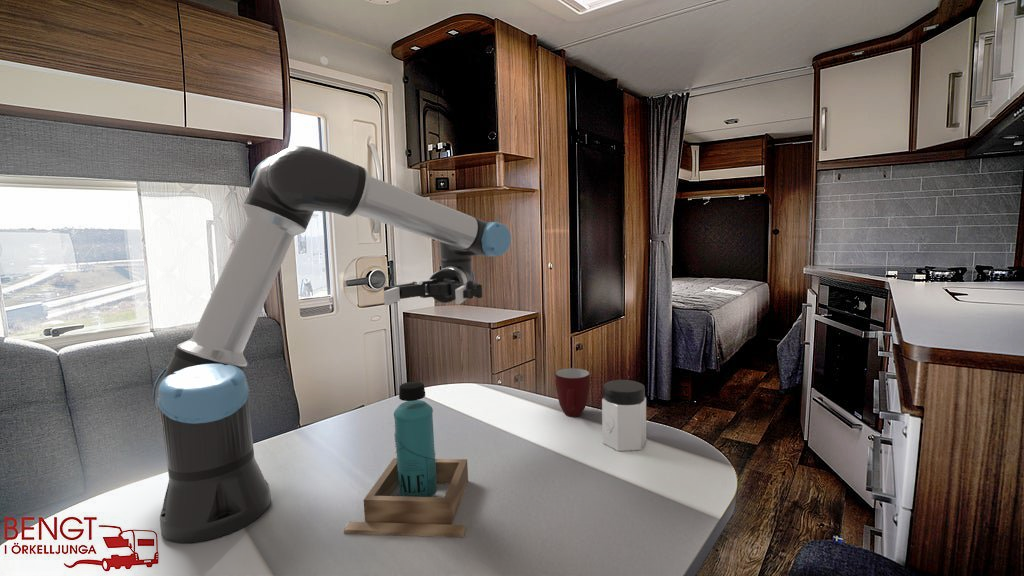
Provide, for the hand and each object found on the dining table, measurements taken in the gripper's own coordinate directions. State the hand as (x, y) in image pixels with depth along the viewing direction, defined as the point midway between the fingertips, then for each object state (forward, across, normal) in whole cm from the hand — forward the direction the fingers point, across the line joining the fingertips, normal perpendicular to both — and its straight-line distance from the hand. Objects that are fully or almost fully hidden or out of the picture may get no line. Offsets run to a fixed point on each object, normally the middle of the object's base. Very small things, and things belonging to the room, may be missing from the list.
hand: (421, 297), depth 89 cm
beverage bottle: (+14, -2, -32) cm, 35 cm away
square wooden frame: (+15, -2, -32) cm, 35 cm away
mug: (-23, -28, -32) cm, 49 cm away
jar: (-9, -38, -32) cm, 51 cm away
